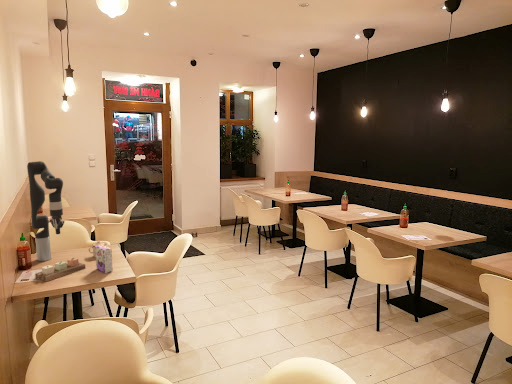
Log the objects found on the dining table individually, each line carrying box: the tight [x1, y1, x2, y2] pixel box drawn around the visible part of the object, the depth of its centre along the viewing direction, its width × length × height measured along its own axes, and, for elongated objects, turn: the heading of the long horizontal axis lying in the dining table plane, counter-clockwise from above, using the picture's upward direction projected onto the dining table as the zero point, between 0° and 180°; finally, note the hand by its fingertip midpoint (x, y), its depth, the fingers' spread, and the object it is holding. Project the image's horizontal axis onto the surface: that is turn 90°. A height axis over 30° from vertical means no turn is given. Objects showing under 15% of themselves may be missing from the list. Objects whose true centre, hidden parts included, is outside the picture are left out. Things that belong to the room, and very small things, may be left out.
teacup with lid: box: [88, 240, 106, 258], centre depth 295 cm, size 12×9×12 cm
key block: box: [34, 262, 86, 282], centre depth 258 cm, size 12×28×3 cm, turn 150°
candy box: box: [95, 244, 114, 274], centre depth 262 cm, size 14×6×16 cm, turn 45°
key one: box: [41, 264, 55, 275], centre depth 250 cm, size 5×5×4 cm
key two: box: [54, 261, 67, 271], centre depth 258 cm, size 5×5×4 cm
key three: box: [66, 257, 80, 267], centre depth 265 cm, size 5×5×4 cm
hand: (58, 234), depth 255 cm, fingers closed
